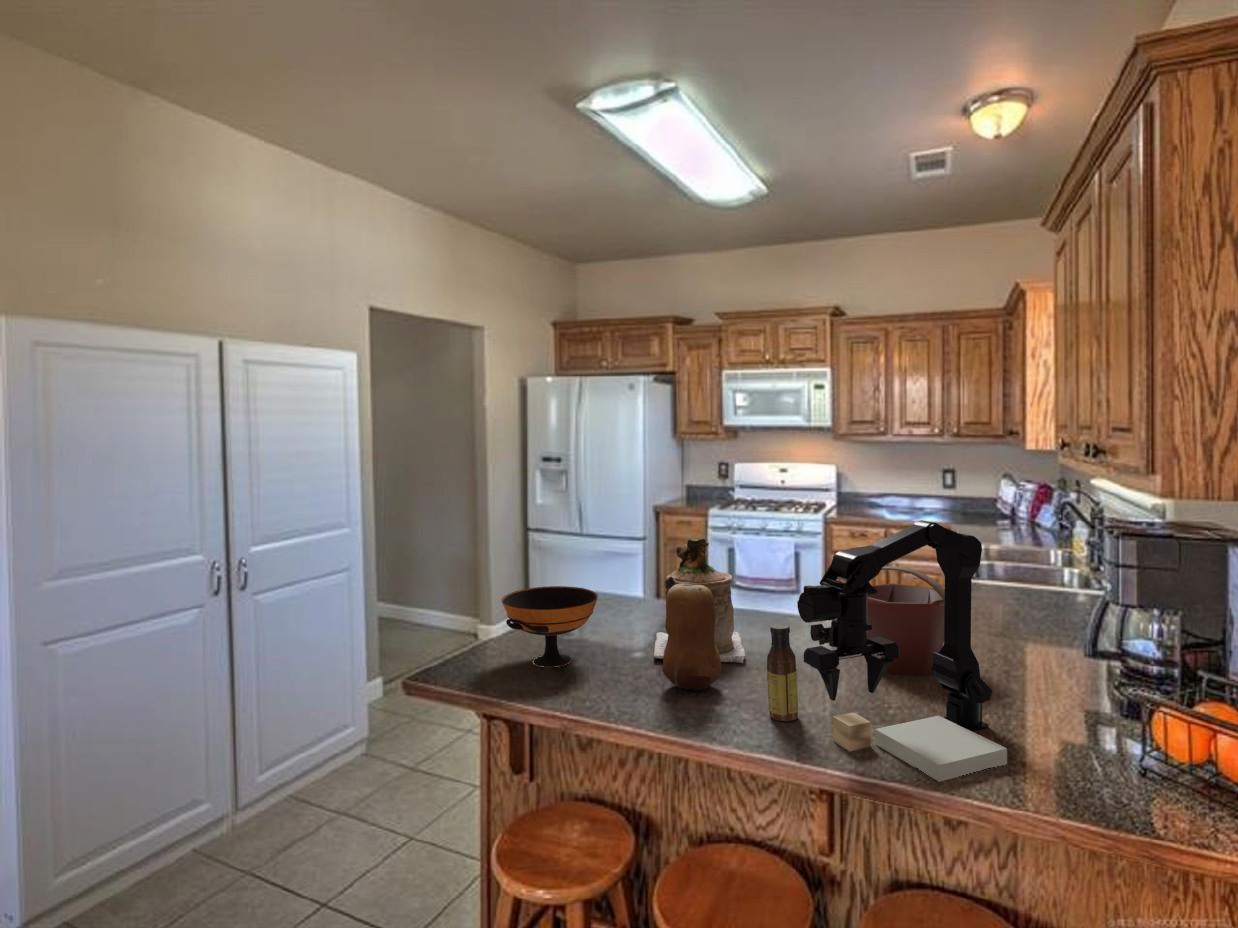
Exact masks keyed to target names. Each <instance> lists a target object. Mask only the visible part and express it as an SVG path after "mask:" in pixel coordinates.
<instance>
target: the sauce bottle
mask: <svg viewBox="0 0 1238 928" xmlns="http://www.w3.org/2000/svg"><path fill="white" fill-rule="evenodd" d="M769 626H770V627H769V629H770V630H769V632H770V634H771V644H770V645H771V647H770V649H769V651H768V654H767V657H766V659H767V660H766V677H767V678H766V679H767V682H766V683H767V701H768V710H769V716H770V717H771V718H772V720H775V721H778V722H787V723H788V722H792V721H795V720H797V719H798V717H799V694H798V693H799V692H798V688H799V687H798V673H797V672H798V670H797V666H796V665H797V664H796V663H797V660H796V654H795V652H794V651H793V649H792V648H791V643H790V632H791V627H790V625H789V624H787V623H774V624H771V625H769Z"/></svg>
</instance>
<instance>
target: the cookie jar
mask: <svg viewBox="0 0 1238 928" xmlns="http://www.w3.org/2000/svg"><path fill="white" fill-rule="evenodd" d="M709 545H710V542H708V541H706V538H704V537H701V538H699V539H697V538H696V539H694V538H689V539H688V540H687V543H685V544H680V545H678V546H677V547H676V555H677V558H679V559H681V562H680V563H679V567H678V568H677V569H676V570H674V571H673V572H672V573H670V574H668V575H666V576H665V579H664V588H665V590H666V591H665V597H666V596H667V593H668V591H669V589H670V588H671V587H672V586H674V585H676V584H682V583H683V584H690V585H703V586H705V587H707V588H708V589H709V590H710V591H711V593H712V595H713V599H714V608H715V630H714V641H715V644H716V646H717V649H718V652H719V654H720V658H721V663H740V664H744V659H745V657H746V652H745V648H744V646H743V644H742V636H741V634H740V633H739V632H738V631H734V630H735V622H734V616H735V613H734V605H733V602H732V601H733V600H732V588H731V585H732V583H733V575H731V574H730V573H727V572H723V571H718V570H716V569H715V568H714V567H713V566H711V565H710V564H708V563H707V557H706V556H707V555H706V550H707V549H706V548H707V547H708V546H709ZM655 636H656V640H655V641H654V652H653V657H654V659H662V660H663V657H664V650H665V647H666V644H667V641H668V634H667V632H661V631H660V632H656V634H655Z"/></svg>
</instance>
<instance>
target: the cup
mask: <svg viewBox="0 0 1238 928" xmlns="http://www.w3.org/2000/svg"><path fill="white" fill-rule="evenodd" d="M598 599H599V595H598V593H596V592H595V591H593V590H591V589H587V588H584V587H577V586H567V585H566V586H563V585H562V586H561V585H560V586H554V585H553V586H537V587H536V586H535V587H530V588H525V589H519V590H515V591H512V592H510V593H508V594H506V595H504V596H503V597H502V598H501V604H502V606H503V607H504V610H505V612H506V616H507V617H508V619H507V620H506V621H505V622H506V623H505V624H506V625H507V627H509V628H510V629H512V630H518V631H519V630H521V631H523V632H525V633H528V634H531V635H536V636H544V641H545V645H544V651H543V652H544V653H543V654H542V655H543V656H542V657H538V656H537V657H538V658H537V659H535V660H534V663H535V665H538V666H544V667H555V666H562V665H565V664H568V663H569V662H570V663H571V662H572V658H571V657H570V656H569V655H567V654H562V653H561V654H560V651H559V646H558V636H561V635H565V634H568V633H571V632H573V631H576V630H578V629H579V628H581V627H583V625H585V624H586V623H587V622H588V621H589V619H590V617H591V616H592V615H593V614H594V609H595V607H596V603H597V602H598ZM570 663H569V664H570ZM569 664H568V665H569Z"/></svg>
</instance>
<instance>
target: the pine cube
mask: <svg viewBox="0 0 1238 928" xmlns="http://www.w3.org/2000/svg"><path fill="white" fill-rule="evenodd" d="M871 723H872V722H871V721H870V720H869V719H866V718H864V717H863V716H861V715H859V714H858V713H856V712H848V713H843V714H838V715H833V716H832V742H834V743H835V744H837V745H839V746H840V747H841V748H843V749H845V750H847V752H852V751H858V750H863V749H866V748H871V747H872V746H871V743H872V738H871V733H872V732H871V731H872V730H871V729H872V726H871Z"/></svg>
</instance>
